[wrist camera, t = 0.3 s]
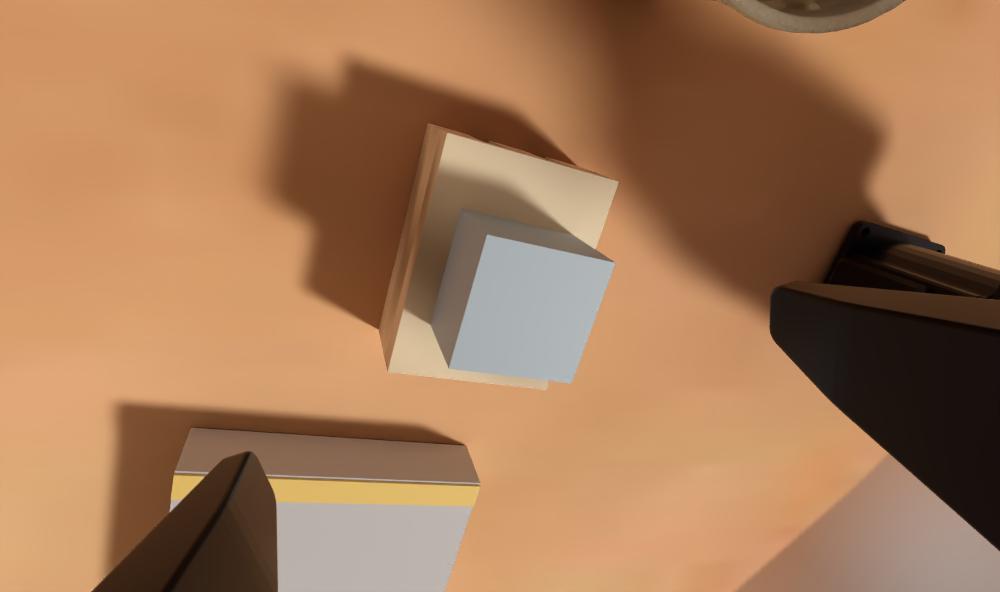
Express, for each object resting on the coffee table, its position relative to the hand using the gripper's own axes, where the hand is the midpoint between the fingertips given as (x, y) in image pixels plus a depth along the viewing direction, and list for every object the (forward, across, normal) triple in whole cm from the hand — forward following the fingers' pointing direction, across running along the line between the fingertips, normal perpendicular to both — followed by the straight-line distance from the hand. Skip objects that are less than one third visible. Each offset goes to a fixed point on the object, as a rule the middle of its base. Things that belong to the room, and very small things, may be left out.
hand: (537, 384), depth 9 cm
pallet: (+13, -2, +2) cm, 13 cm away
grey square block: (+9, -2, +2) cm, 9 cm away
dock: (+12, +9, +14) cm, 20 cm away
